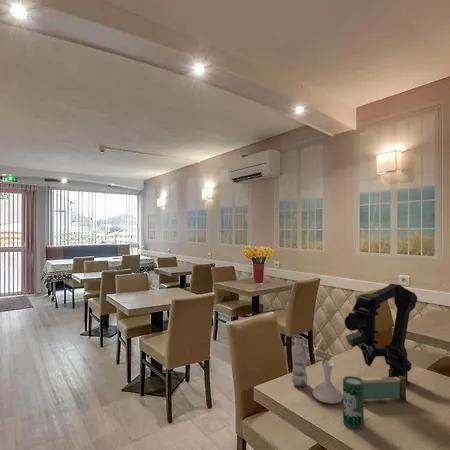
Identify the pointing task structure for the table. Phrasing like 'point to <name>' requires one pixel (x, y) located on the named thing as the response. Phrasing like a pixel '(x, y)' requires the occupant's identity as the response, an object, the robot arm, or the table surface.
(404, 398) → the gate frame
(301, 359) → the plastic bottle
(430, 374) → the table surface
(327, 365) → the flower in vase
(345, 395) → the can
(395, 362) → the robot arm
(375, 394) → the panel
